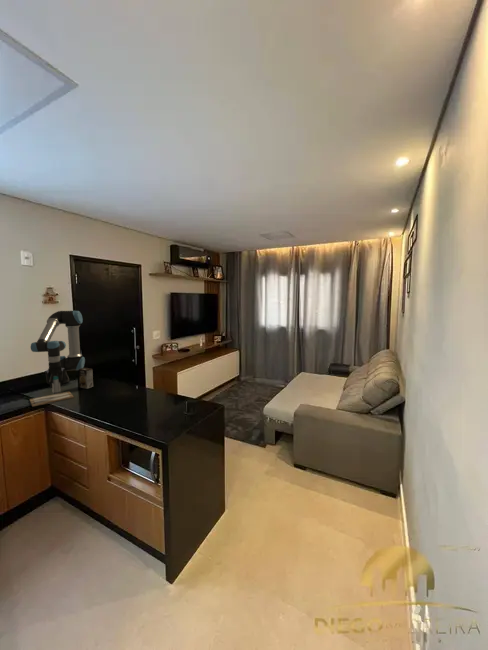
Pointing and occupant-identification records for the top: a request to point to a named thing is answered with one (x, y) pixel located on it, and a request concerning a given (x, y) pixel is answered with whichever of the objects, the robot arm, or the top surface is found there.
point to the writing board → (51, 398)
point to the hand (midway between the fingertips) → (56, 391)
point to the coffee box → (86, 378)
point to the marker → (56, 384)
